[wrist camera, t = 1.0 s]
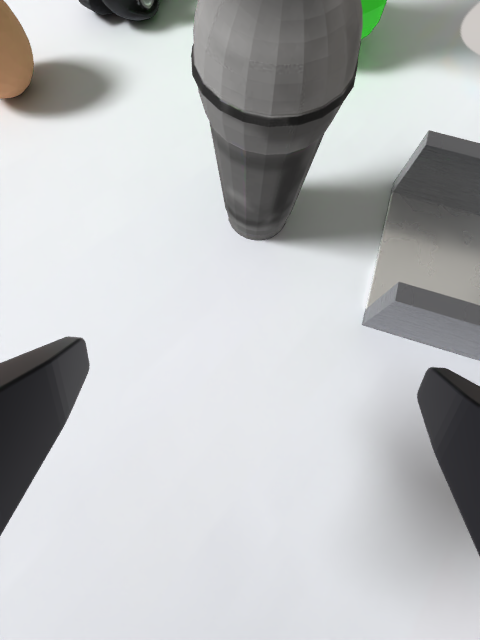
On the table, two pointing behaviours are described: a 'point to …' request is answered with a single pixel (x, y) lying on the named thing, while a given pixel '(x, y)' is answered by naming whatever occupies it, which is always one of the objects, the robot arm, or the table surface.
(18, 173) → the table surface
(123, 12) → the can opener
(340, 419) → the table surface
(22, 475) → the robot arm
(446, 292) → the box
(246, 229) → the beverage cup
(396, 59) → the table surface
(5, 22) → the egg
